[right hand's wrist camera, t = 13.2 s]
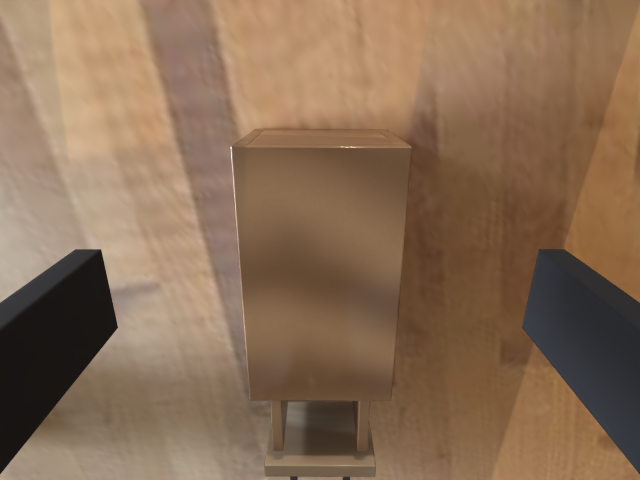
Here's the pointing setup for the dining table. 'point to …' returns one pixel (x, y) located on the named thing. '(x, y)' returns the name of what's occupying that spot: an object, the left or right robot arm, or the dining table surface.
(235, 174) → the cabinet
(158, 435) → the dining table surface
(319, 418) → the drawer
